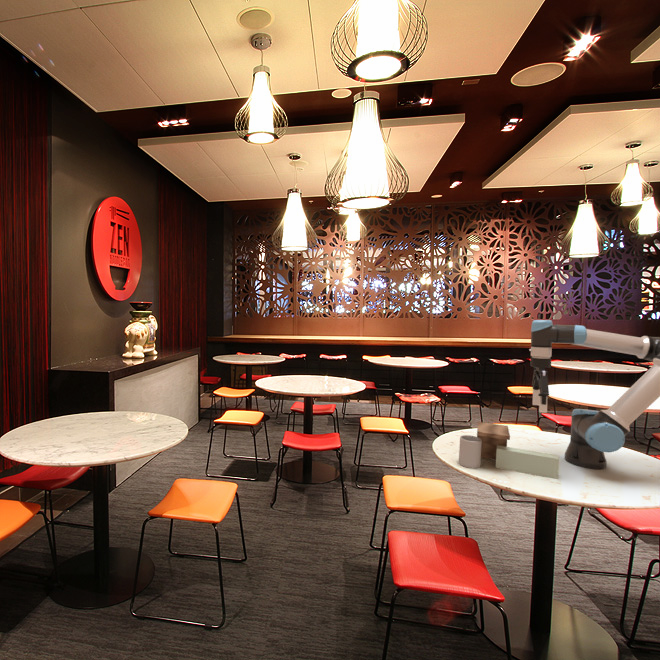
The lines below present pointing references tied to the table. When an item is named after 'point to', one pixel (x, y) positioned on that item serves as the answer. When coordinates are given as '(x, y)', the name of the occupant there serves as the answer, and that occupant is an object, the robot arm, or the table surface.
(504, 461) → the pale green block
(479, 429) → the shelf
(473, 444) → the mug
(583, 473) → the table surface
